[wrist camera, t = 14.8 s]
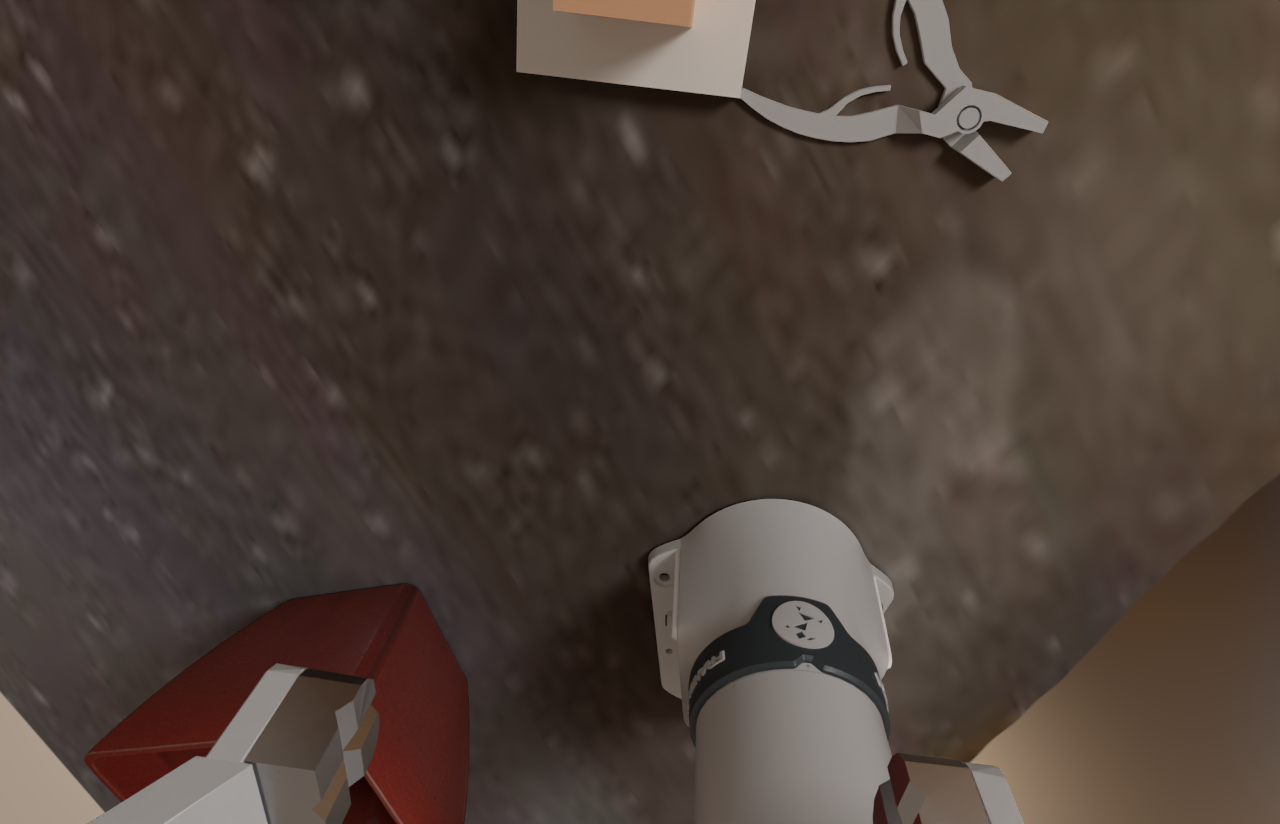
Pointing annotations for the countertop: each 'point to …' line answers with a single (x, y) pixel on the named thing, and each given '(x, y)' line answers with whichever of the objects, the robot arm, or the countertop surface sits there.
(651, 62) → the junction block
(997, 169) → the pliers
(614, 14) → the tan cardboard cube
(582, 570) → the countertop surface
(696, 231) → the countertop surface
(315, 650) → the plant pot
